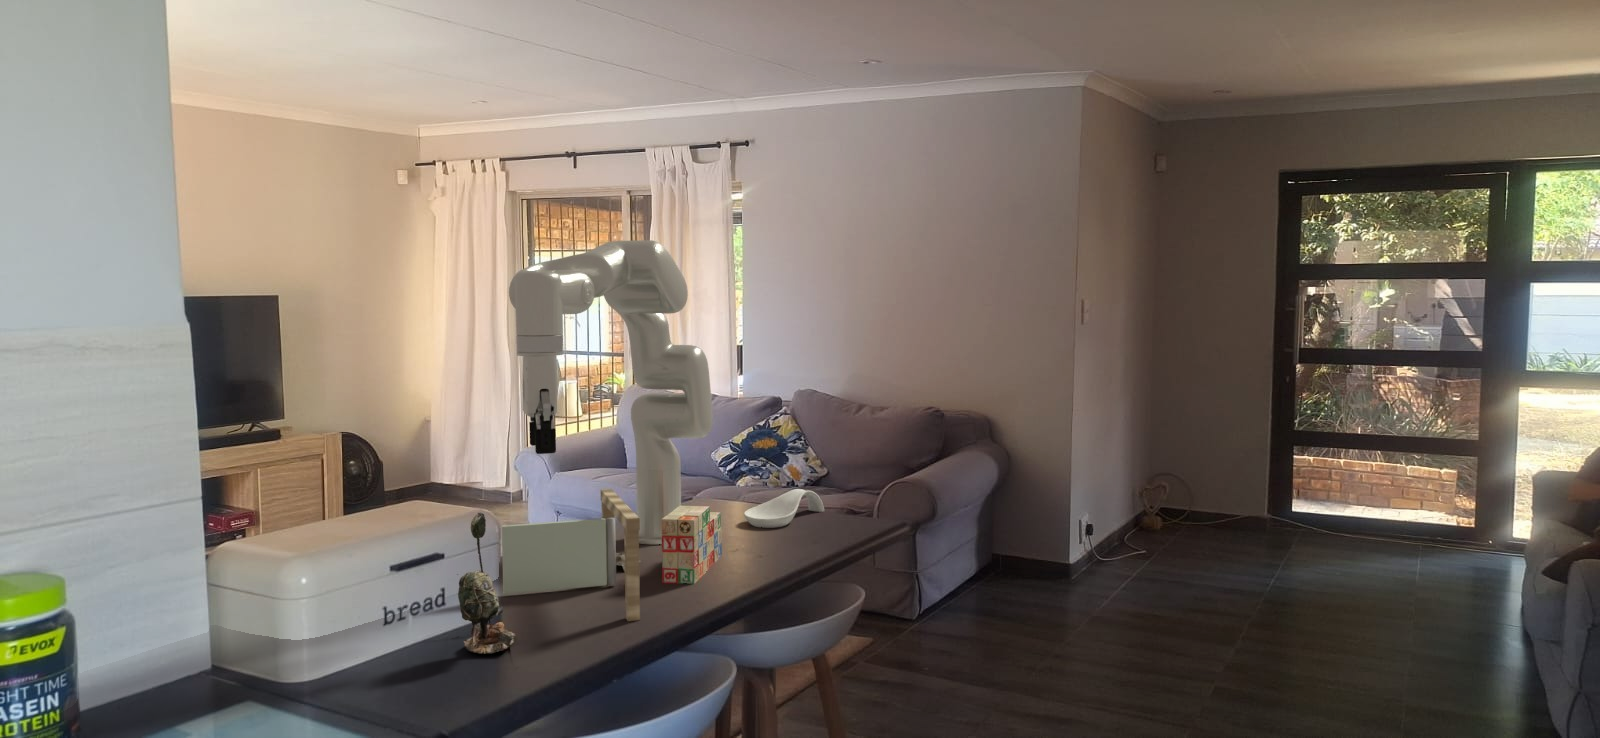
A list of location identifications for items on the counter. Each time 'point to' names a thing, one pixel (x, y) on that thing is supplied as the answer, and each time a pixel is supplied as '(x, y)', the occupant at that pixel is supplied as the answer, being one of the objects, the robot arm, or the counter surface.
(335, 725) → the counter surface
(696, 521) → the stack of blocks
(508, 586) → the door
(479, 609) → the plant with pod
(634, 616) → the door frame
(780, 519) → the spoon rest
